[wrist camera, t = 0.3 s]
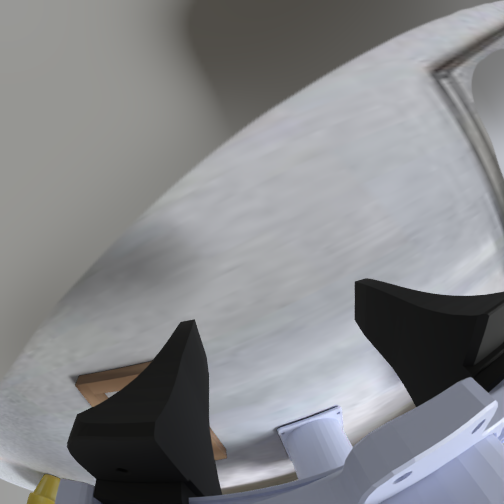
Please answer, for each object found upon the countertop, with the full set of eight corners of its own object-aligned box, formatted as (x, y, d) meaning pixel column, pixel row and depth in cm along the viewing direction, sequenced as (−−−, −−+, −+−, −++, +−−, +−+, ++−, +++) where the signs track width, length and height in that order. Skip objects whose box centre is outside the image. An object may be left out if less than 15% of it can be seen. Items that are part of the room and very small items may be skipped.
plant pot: (81, 484, 29) (75, 523, 20) (83, 497, 31) (78, 532, 22) (32, 462, 26) (21, 499, 17) (40, 479, 28) (31, 511, 19)
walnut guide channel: (225, 448, 28) (227, 458, 27) (153, 459, 27) (153, 468, 26) (165, 357, 23) (164, 368, 21) (79, 375, 22) (75, 385, 21)
